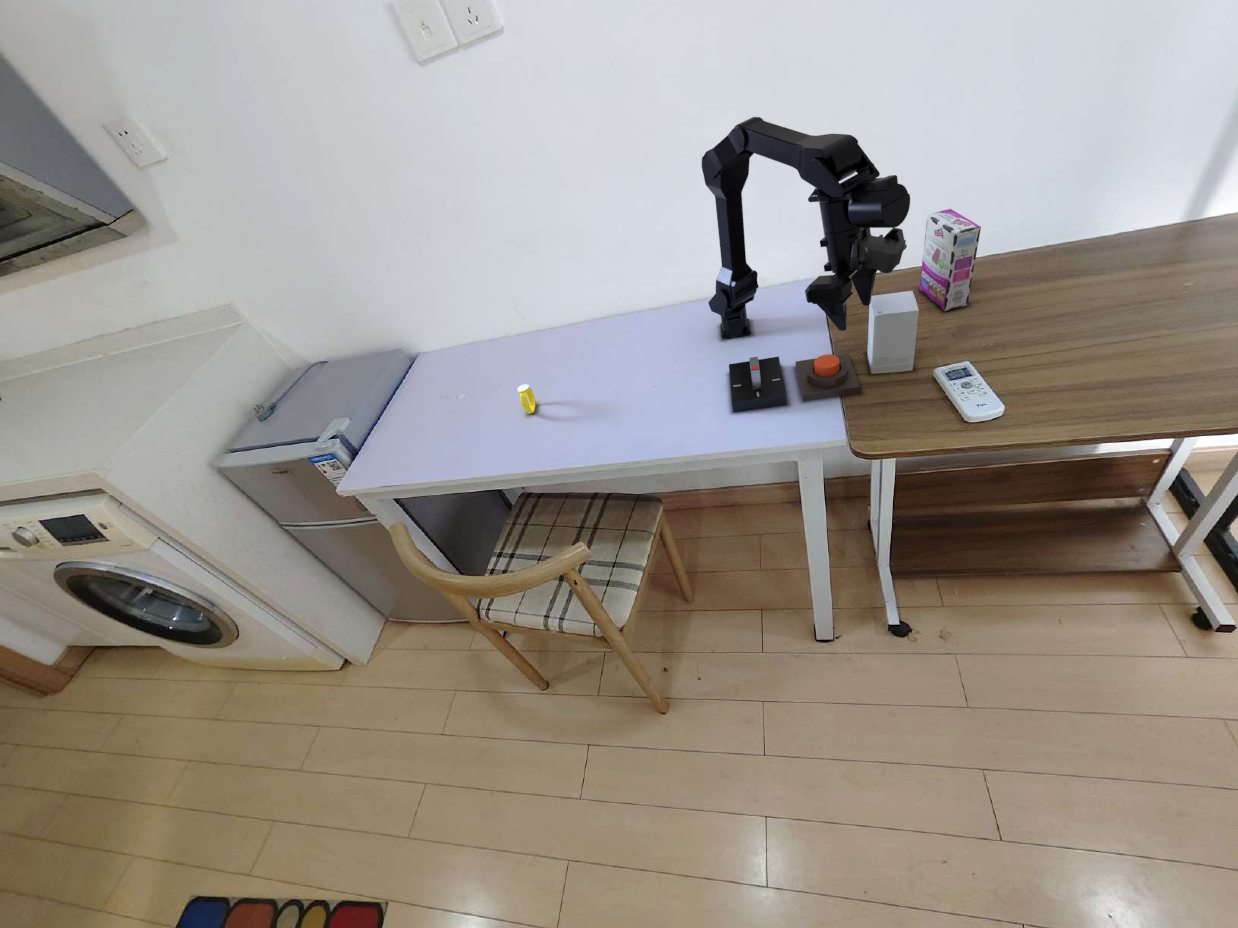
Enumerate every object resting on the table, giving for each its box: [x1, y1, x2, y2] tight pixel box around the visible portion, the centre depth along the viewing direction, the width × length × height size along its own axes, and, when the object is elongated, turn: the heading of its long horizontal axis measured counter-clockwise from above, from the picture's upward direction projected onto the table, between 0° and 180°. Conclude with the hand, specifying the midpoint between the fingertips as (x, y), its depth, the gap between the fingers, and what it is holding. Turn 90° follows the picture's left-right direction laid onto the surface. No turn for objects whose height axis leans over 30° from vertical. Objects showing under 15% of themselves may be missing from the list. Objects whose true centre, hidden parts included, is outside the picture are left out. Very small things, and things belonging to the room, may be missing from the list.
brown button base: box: [795, 353, 861, 402], centre depth 110 cm, size 11×10×4 cm
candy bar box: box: [919, 208, 982, 312], centre depth 116 cm, size 11×5×16 cm, turn 6°
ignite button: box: [814, 353, 839, 377], centre depth 108 cm, size 4×4×2 cm
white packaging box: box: [866, 290, 920, 375], centre depth 106 cm, size 7×7×13 cm
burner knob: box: [748, 356, 762, 391], centre depth 110 cm, size 5×2×5 cm, turn 175°
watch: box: [516, 383, 537, 414], centre depth 128 cm, size 6×3×6 cm, turn 1°
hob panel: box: [728, 356, 788, 413], centre depth 114 cm, size 13×10×3 cm
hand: (855, 317), depth 99 cm, fingers open, 9 cm apart
